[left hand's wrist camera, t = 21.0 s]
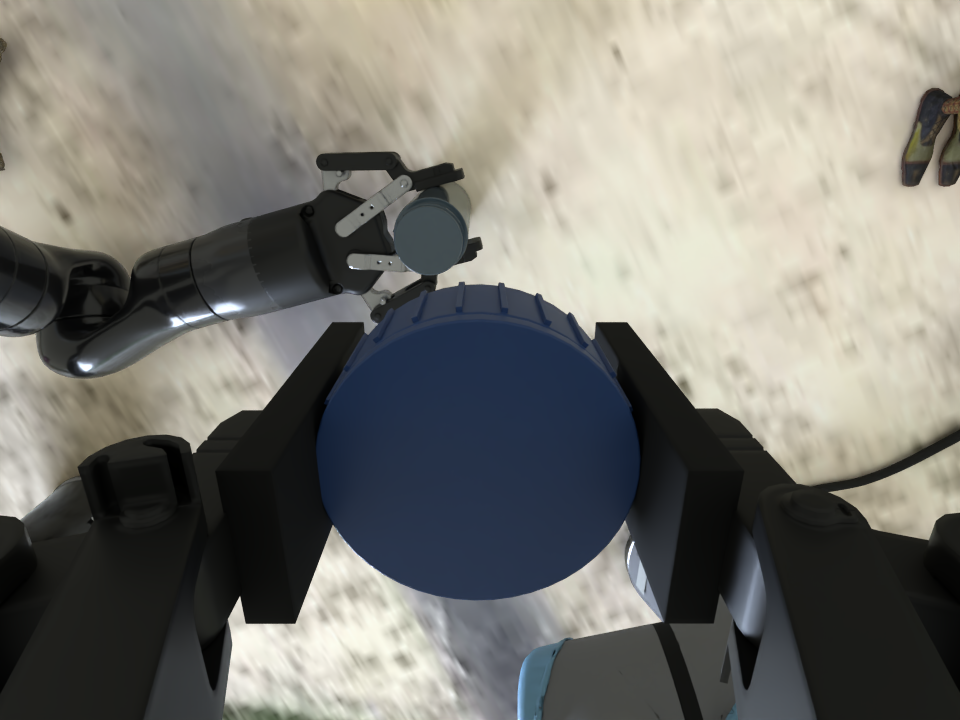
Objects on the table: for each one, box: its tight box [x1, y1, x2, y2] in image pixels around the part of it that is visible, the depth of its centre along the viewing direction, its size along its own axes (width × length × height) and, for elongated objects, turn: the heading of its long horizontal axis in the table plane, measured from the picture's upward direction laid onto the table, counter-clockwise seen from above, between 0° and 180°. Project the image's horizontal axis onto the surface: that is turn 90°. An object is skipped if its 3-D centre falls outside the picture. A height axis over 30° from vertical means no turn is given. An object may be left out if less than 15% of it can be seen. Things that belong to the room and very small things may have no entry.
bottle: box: [393, 182, 471, 275], centre depth 42 cm, size 5×5×17 cm
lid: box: [316, 282, 641, 600], centre depth 11 cm, size 6×6×2 cm
